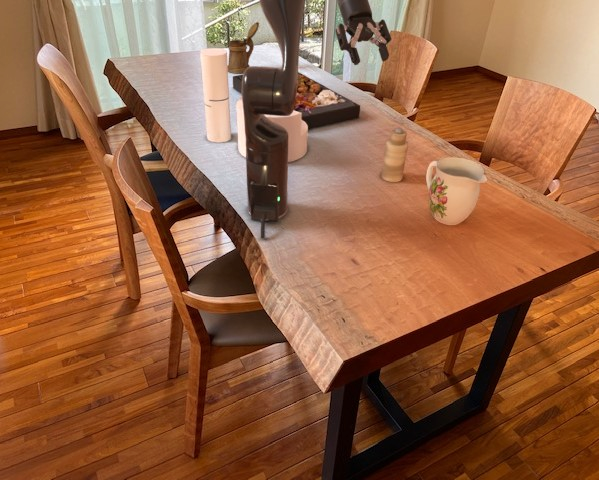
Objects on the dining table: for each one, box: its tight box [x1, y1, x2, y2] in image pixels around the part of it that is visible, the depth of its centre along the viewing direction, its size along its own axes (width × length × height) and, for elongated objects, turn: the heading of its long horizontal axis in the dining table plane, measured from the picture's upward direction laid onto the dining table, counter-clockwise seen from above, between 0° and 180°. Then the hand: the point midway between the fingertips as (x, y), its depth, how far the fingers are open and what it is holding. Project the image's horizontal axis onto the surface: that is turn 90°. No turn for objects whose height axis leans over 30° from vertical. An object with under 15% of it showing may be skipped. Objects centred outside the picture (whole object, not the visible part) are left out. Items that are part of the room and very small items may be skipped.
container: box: [235, 96, 309, 163], centre depth 141 cm, size 20×20×13 cm
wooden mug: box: [227, 21, 260, 74], centre depth 198 cm, size 9×14×18 cm, turn 112°
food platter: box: [232, 71, 361, 131], centre depth 172 cm, size 45×25×10 cm, turn 32°
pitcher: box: [425, 156, 488, 226], centre depth 114 cm, size 11×18×14 cm, turn 24°
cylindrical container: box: [199, 47, 232, 144], centre depth 142 cm, size 7×7×25 cm
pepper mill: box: [380, 127, 409, 183], centre depth 129 cm, size 6×6×14 cm
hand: (371, 61), depth 127 cm, fingers open, 8 cm apart
